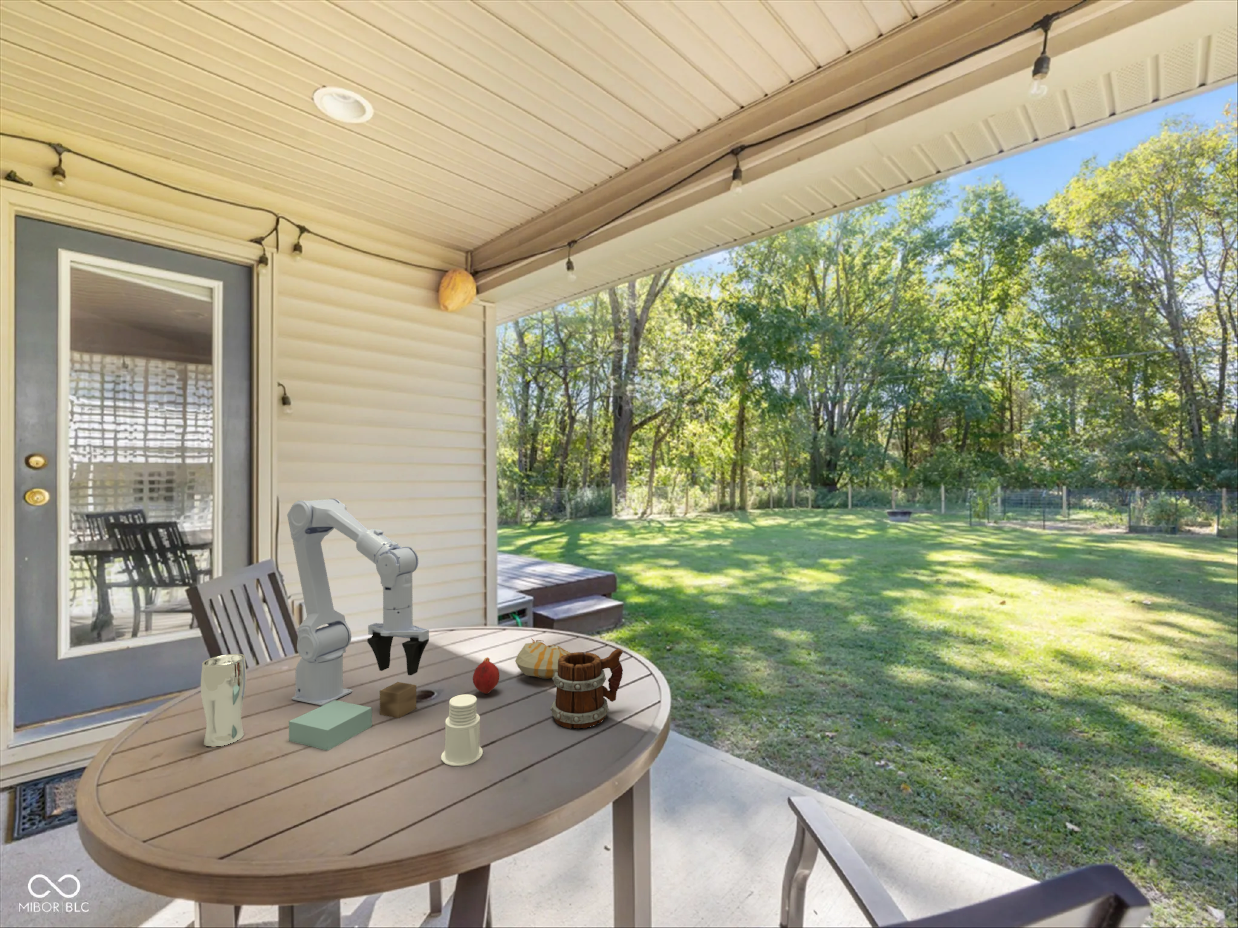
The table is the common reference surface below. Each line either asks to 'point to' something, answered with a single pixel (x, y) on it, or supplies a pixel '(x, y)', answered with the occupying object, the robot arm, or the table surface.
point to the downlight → (462, 732)
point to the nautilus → (539, 659)
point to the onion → (486, 676)
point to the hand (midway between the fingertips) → (398, 671)
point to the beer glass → (223, 698)
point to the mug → (584, 688)
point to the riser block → (330, 724)
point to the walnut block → (397, 699)
